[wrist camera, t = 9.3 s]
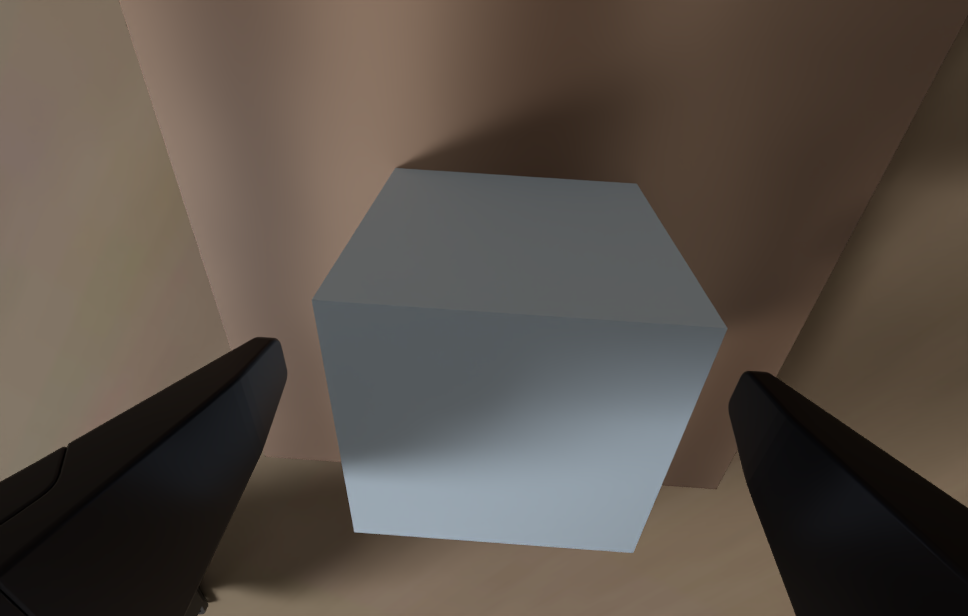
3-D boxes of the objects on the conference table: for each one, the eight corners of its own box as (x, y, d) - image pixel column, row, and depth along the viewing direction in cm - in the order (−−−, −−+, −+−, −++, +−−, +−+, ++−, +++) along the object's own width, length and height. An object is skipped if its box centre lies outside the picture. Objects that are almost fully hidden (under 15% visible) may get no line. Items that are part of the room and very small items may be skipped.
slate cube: (405, 354, 14) (354, 532, 9) (394, 168, 11) (311, 299, 6) (593, 366, 14) (633, 553, 9) (637, 183, 11) (727, 328, 6)
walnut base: (296, 396, 19) (265, 456, 17) (171, -131, 10) (65, -167, 8) (690, 424, 19) (716, 489, 17) (908, -89, 10) (1035, -111, 8)
